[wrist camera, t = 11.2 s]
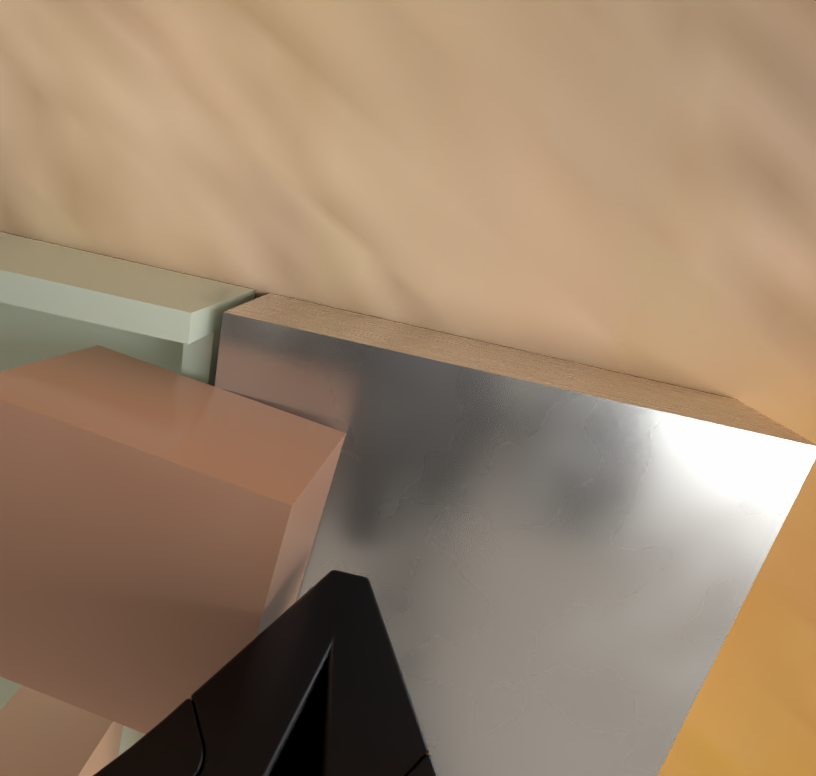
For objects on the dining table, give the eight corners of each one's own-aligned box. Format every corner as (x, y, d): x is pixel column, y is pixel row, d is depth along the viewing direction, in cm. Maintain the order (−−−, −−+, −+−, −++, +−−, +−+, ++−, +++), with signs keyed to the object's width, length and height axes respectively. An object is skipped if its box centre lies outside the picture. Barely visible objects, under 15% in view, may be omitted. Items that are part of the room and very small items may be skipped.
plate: (505, 934, 16) (517, 1055, 14) (188, 870, 16) (146, 981, 14) (736, 399, 11) (820, 446, 9) (269, 293, 11) (222, 311, 8)
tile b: (284, 640, 10) (220, 764, 8) (70, 558, 10) (-56, 654, 8) (345, 433, 9) (292, 505, 6) (98, 345, 9) (-44, 383, 7)
